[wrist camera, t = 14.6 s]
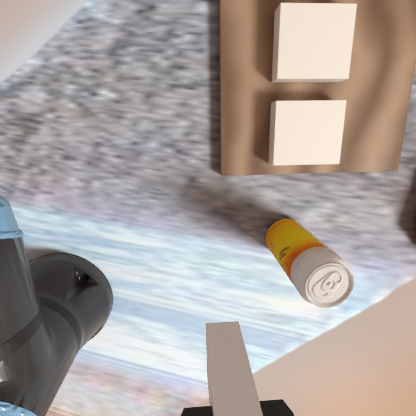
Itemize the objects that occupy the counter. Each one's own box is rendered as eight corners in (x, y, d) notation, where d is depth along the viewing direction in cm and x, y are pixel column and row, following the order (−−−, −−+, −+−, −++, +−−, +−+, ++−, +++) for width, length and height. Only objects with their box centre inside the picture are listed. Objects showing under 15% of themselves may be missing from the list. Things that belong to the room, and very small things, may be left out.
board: (220, 173, 40) (221, 175, 39) (219, -1, 34) (220, -7, 33) (390, 169, 42) (398, 170, 40) (417, 0, 36) (426, -5, 34)
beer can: (256, 238, 43) (289, 291, 29) (282, 209, 42) (330, 248, 28) (284, 260, 45) (329, 320, 30) (310, 231, 43) (369, 280, 29)
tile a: (337, 82, 36) (271, 82, 36) (344, 13, 34) (274, 12, 34) (348, 78, 34) (277, 78, 33) (357, 3, 32) (280, 2, 31)
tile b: (329, 162, 39) (267, 163, 39) (336, 102, 37) (270, 103, 37) (339, 164, 37) (273, 165, 36) (346, 100, 35) (276, 100, 34)
